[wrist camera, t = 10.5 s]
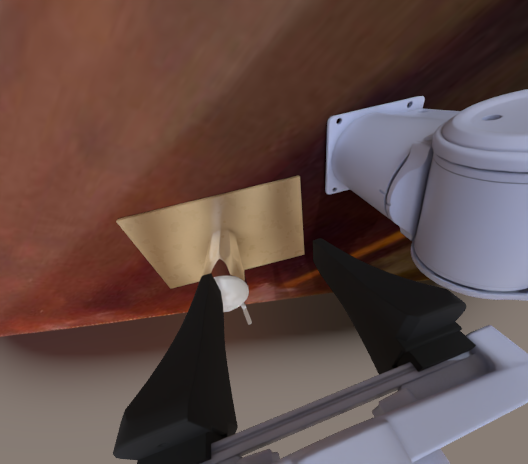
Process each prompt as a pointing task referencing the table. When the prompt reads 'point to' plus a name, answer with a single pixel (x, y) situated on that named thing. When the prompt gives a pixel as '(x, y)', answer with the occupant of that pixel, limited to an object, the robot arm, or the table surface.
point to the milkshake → (227, 270)
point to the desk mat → (221, 217)
